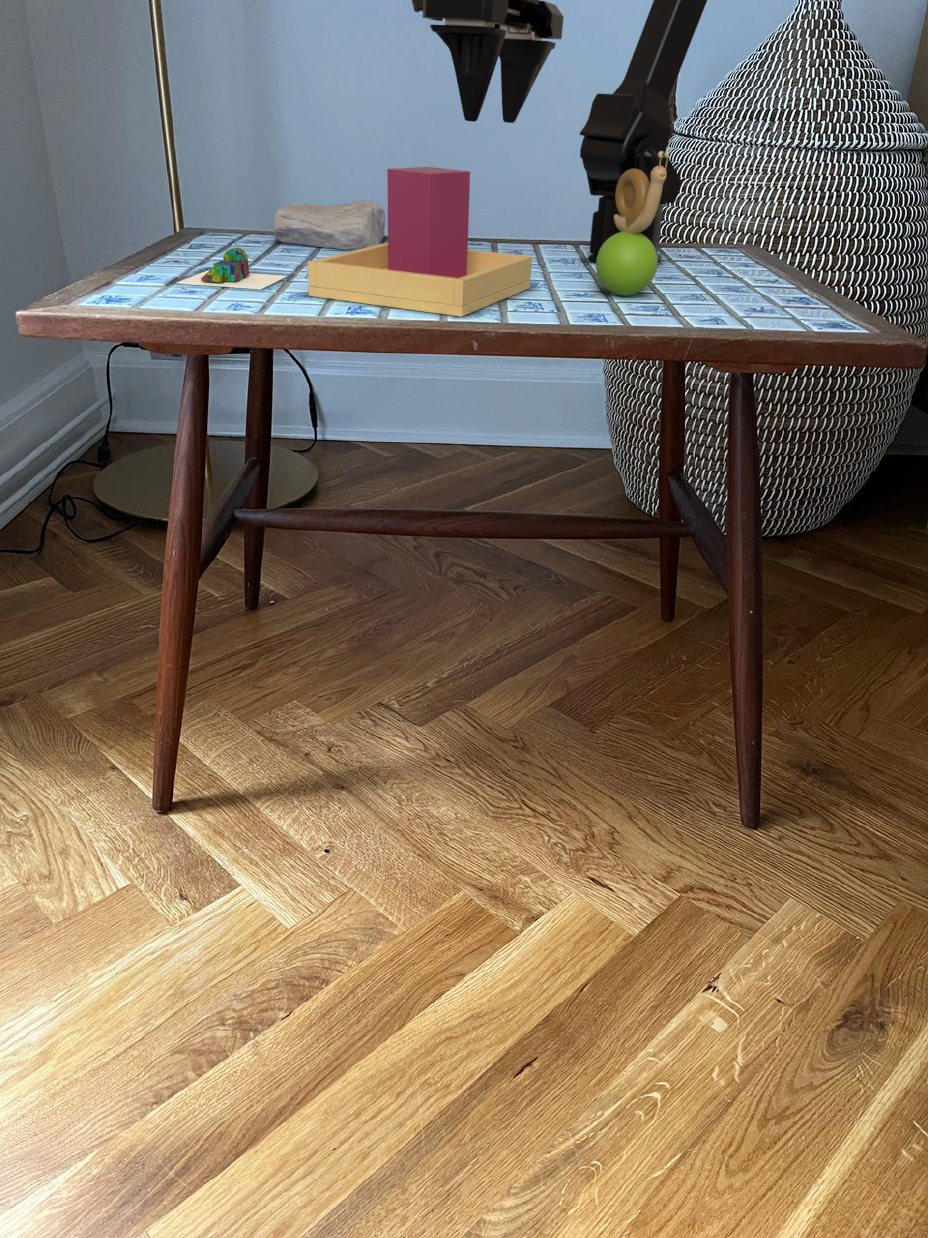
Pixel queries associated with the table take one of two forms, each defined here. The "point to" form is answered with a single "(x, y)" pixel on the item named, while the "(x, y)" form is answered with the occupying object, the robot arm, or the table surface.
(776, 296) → the table surface
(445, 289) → the birch tray
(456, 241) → the mulberry block
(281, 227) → the stone block
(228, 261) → the patchwork stepped arch
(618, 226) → the snail figurine
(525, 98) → the robot arm
